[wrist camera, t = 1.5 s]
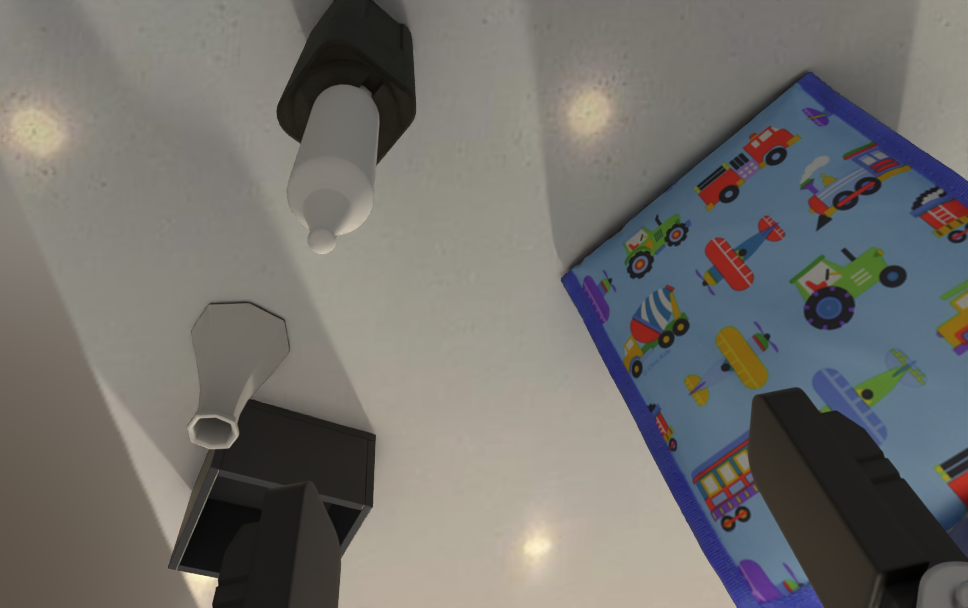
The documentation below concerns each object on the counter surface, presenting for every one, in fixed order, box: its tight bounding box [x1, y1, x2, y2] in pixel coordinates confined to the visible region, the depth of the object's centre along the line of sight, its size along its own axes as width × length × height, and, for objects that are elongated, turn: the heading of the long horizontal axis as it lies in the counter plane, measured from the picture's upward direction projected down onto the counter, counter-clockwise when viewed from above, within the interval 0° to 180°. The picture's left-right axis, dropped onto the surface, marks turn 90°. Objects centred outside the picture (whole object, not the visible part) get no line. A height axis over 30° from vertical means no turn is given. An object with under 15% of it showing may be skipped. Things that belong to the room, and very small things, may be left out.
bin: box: [168, 399, 376, 578], centre depth 57 cm, size 12×12×8 cm
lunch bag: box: [561, 72, 968, 608], centre depth 39 cm, size 22×14×29 cm, turn 134°
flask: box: [187, 303, 289, 449], centre depth 48 cm, size 7×7×10 cm
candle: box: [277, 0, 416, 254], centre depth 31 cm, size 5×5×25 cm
